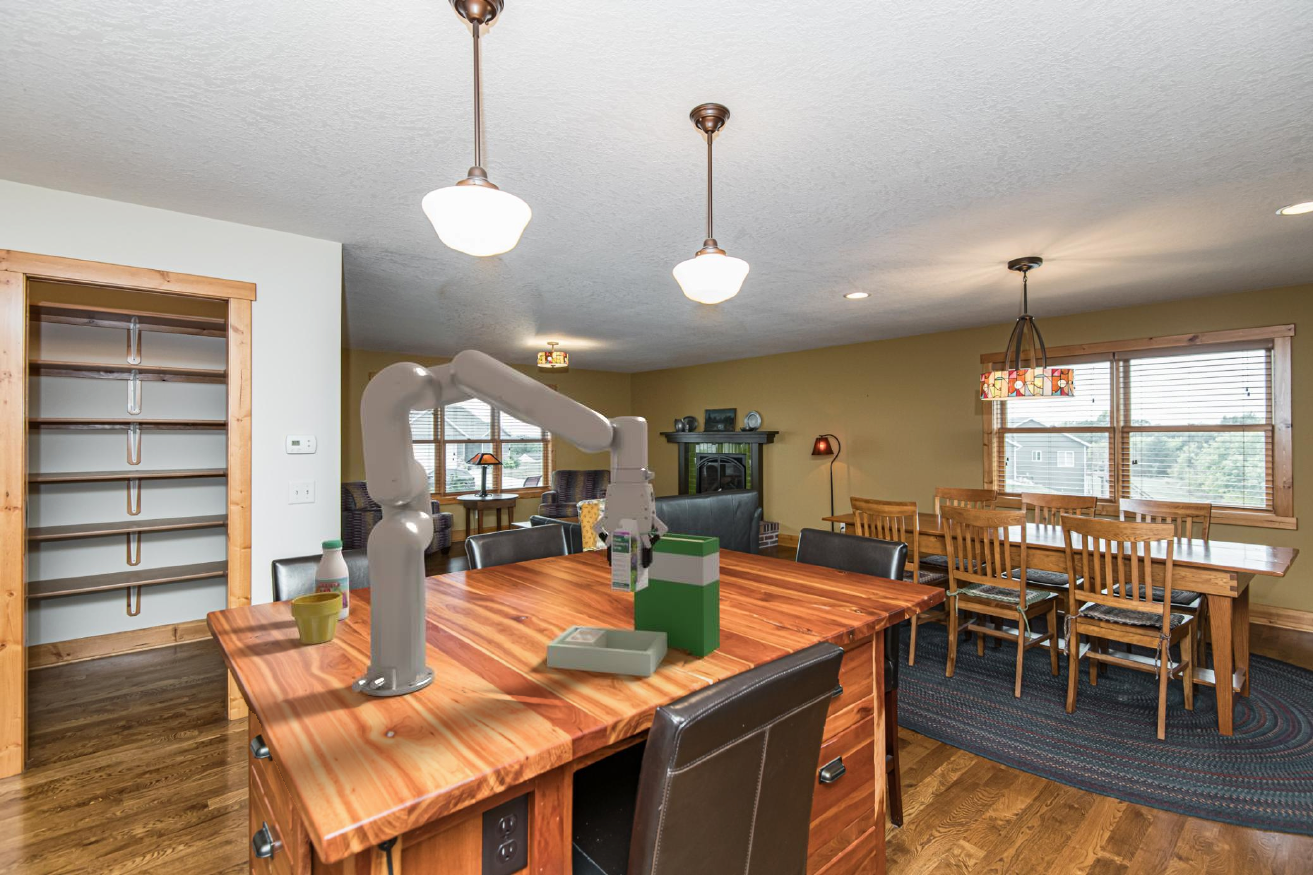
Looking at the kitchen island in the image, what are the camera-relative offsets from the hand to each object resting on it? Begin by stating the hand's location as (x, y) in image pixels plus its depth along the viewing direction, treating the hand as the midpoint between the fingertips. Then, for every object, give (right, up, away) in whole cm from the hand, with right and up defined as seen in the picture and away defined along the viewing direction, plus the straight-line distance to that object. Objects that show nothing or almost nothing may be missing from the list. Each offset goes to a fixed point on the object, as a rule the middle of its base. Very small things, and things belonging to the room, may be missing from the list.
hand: (629, 565), depth 120 cm
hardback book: (+10, -20, +12) cm, 26 cm away
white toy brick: (-9, -19, +2) cm, 22 cm away
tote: (-4, -20, +1) cm, 21 cm away
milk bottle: (-79, -21, +33) cm, 88 cm away
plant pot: (-73, -21, +16) cm, 77 cm away
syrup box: (0, -5, 0) cm, 5 cm away
